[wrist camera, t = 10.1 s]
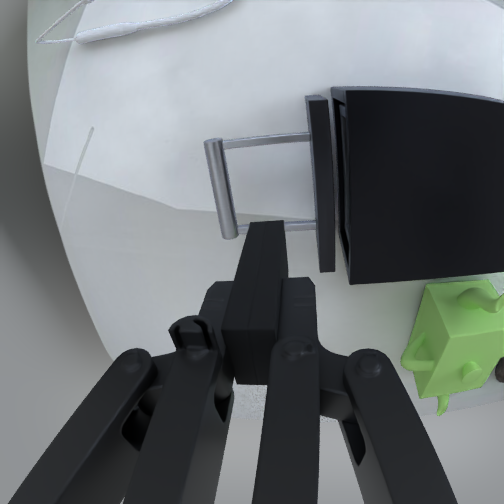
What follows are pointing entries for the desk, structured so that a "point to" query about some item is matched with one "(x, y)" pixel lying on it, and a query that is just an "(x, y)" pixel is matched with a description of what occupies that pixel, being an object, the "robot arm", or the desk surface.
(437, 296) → the teapot
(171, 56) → the desk surface
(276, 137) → the drawer
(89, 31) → the earphone
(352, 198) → the black box
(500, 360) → the stone
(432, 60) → the desk surface
